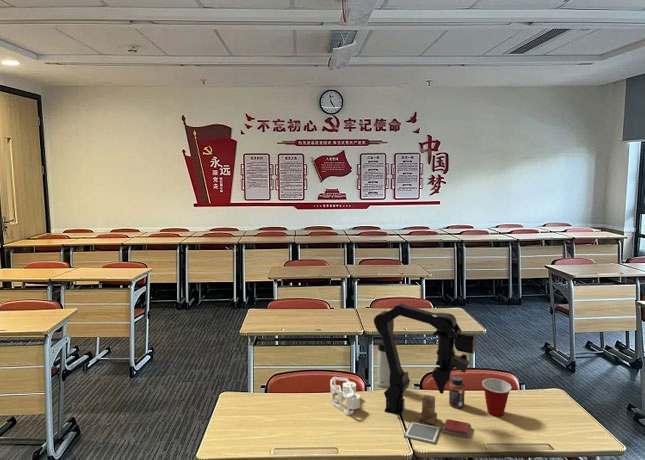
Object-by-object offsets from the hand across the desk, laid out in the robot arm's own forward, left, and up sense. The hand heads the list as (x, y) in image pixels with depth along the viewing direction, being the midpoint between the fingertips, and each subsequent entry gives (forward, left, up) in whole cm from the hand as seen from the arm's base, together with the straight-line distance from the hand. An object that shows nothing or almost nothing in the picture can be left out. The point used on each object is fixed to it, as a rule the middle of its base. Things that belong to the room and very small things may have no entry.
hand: (443, 388), depth 172 cm
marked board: (-5, -11, -13) cm, 18 cm away
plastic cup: (+18, +15, -13) cm, 27 cm away
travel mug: (-29, +22, -13) cm, 39 cm away
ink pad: (+6, -4, -13) cm, 15 cm away
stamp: (-5, -1, -13) cm, 14 cm away
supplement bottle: (+3, +16, -13) cm, 21 cm away
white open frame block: (-40, -1, -13) cm, 42 cm away
